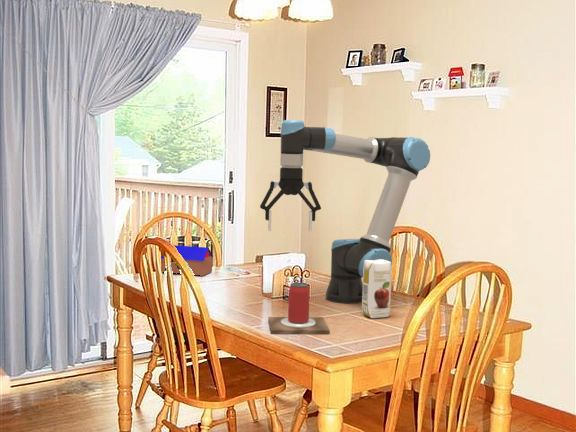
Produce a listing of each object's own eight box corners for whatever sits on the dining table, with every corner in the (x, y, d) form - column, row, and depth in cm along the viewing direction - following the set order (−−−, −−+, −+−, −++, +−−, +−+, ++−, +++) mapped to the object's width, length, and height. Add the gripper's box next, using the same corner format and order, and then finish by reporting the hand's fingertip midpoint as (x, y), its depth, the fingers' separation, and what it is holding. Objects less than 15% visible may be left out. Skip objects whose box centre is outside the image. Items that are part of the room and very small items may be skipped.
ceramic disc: (313, 319, 223) (313, 317, 223) (317, 328, 212) (317, 326, 212) (279, 318, 222) (279, 317, 222) (281, 328, 211) (282, 326, 211)
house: (203, 276, 296) (203, 249, 295) (160, 272, 301) (160, 246, 300) (213, 271, 307) (213, 245, 306) (171, 268, 312) (171, 242, 311)
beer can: (287, 318, 220) (287, 282, 218) (307, 318, 220) (308, 282, 219) (288, 324, 213) (289, 286, 212) (309, 324, 214) (310, 286, 212)
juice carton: (359, 313, 236) (361, 259, 234) (380, 312, 239) (382, 258, 237) (370, 319, 229) (372, 263, 227) (392, 317, 232) (394, 262, 230)
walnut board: (323, 320, 226) (323, 317, 225) (329, 334, 210) (329, 330, 210) (268, 320, 224) (268, 316, 224) (270, 334, 208) (271, 330, 208)
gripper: (327, 167, 232) (325, 229, 234) (253, 165, 230) (252, 228, 232) (330, 168, 225) (328, 232, 227) (254, 166, 223) (252, 231, 225)
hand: (289, 230), depth 230 cm, fingers open, 13 cm apart
